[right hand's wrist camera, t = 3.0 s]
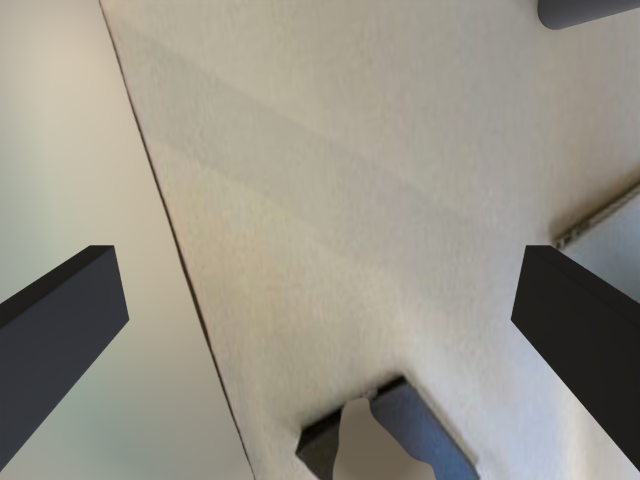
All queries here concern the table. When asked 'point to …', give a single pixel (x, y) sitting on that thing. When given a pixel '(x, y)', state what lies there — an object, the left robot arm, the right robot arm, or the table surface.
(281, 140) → the table surface
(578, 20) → the bottle
